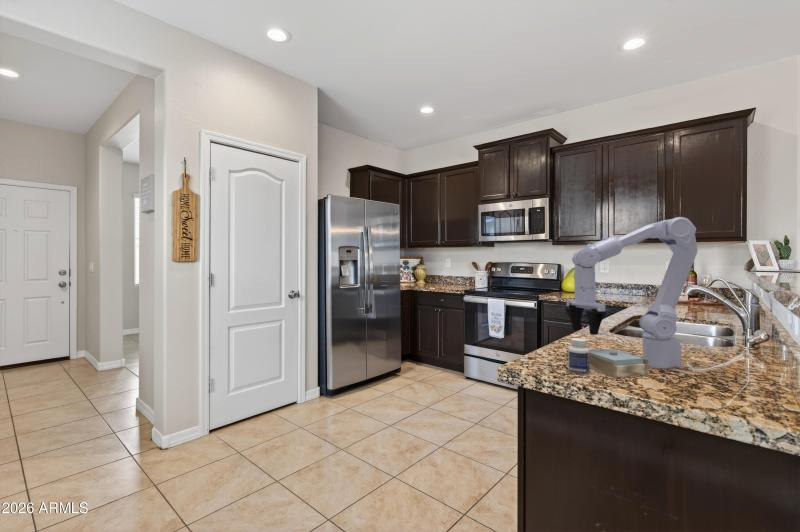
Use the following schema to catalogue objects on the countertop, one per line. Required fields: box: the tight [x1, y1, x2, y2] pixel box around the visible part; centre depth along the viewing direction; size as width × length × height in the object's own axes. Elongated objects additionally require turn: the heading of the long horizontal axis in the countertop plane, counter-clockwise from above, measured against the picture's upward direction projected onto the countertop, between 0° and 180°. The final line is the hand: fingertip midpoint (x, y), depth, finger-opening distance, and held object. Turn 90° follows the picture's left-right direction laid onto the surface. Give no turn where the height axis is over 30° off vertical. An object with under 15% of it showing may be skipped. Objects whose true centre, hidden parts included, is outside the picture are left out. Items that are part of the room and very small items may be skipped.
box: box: [590, 354, 649, 379], centre depth 109 cm, size 11×12×5 cm
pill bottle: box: [567, 337, 591, 375], centre depth 107 cm, size 5×5×10 cm
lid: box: [589, 348, 643, 366], centre depth 108 cm, size 9×11×2 cm
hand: (584, 332), depth 117 cm, fingers open, 7 cm apart
